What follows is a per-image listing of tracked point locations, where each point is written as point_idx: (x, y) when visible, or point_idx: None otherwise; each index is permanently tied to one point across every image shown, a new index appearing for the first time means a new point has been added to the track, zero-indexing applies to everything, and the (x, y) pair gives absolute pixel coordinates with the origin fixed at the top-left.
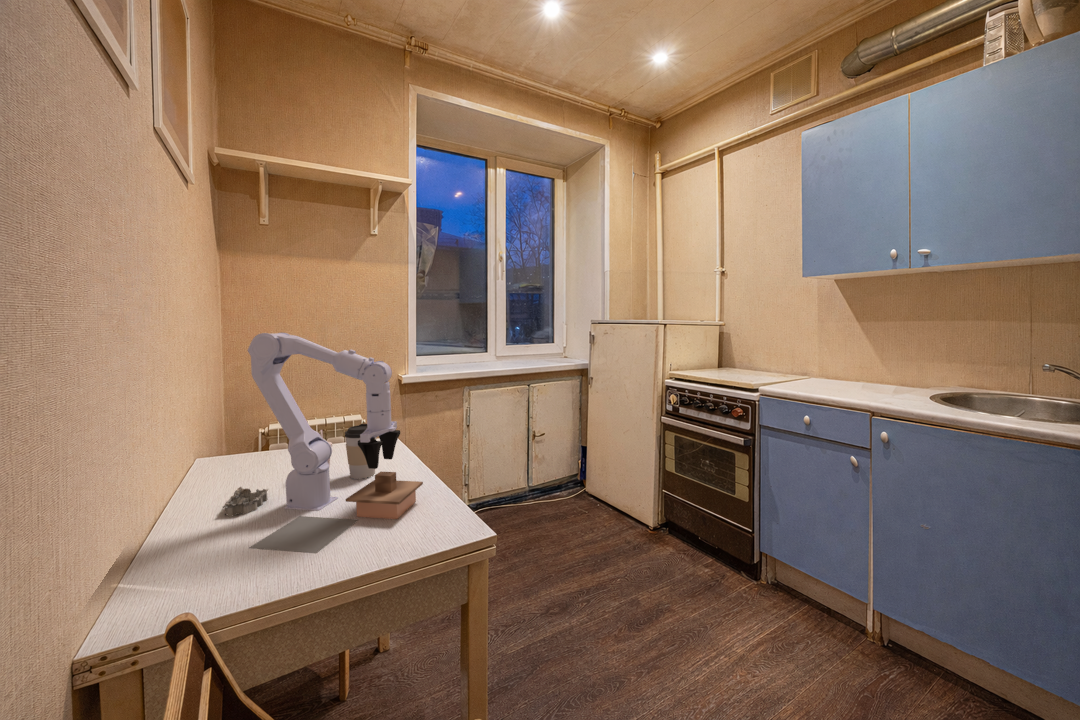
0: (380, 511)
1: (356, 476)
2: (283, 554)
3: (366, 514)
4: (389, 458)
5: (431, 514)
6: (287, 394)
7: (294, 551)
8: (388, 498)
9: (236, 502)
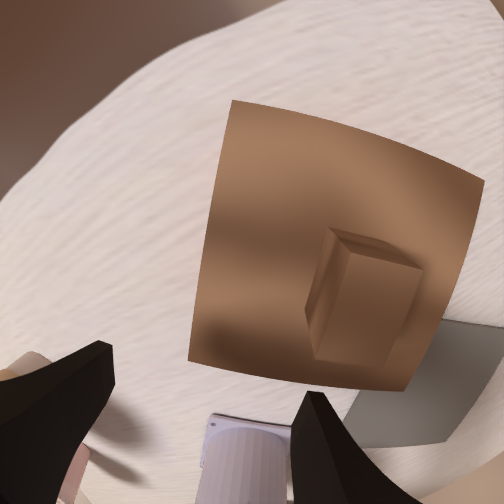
0: None
1: None
2: (486, 385)
3: None
4: (109, 359)
5: (374, 72)
6: None
7: (493, 372)
8: (449, 234)
9: None
